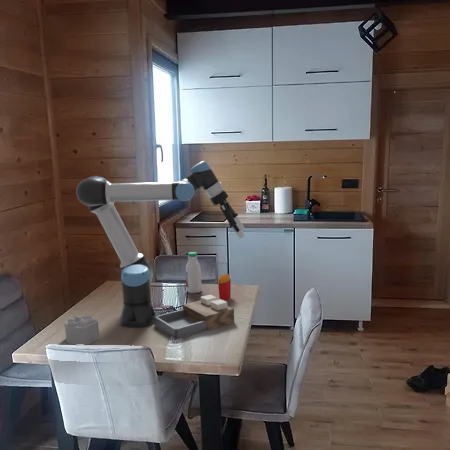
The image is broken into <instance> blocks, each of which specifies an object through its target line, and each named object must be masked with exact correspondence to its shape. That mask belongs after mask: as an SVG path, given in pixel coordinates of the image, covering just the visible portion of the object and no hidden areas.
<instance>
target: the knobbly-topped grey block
mask: <svg viewBox="0 0 450 450" xmlns="http://www.w3.org/2000/svg"><path fill="white" fill-rule="evenodd" d="M64 330H65V341H66V342H67V343H68V344H69V343H70V345H73V344H84V345H85V346H89V345H91V344H92V343H94V342H96V341H98V340H99V339H100V330H99V320H98V319H96V318H93V317H92V316H90V315H88V314H86V315H84V316H80V315H75V316H74V317H70V318H69V319H66V320H65V322H64Z"/></svg>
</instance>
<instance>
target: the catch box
mask: <svg viewBox="0 0 450 450" xmlns="http://www.w3.org/2000/svg"><path fill="white" fill-rule="evenodd" d="M153 324H154V327H156V328H157V329H159V330H160V331H161V332H163V331H164V332H163V333H165V334H166V333H167V335H168V336H170V337H171V338H173V339H174V338H175V339H174V340H179V339H181V338H186V337H188V336H192V334H193V335H195V334H199V333H203V332H206V331H207V330H206V321H205V320H204V321H201V322H197V323H196V322H194V321H192V320H190V319H189V318H187V317H185V313H184V309H183V308H182V309H178V310H174V311H170V312H168V313H167V312H166V313H163V314H158V315H156V316H154V323H153ZM185 336H186V337H185Z"/></svg>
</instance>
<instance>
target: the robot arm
mask: <svg viewBox="0 0 450 450" xmlns="http://www.w3.org/2000/svg"><path fill="white" fill-rule="evenodd" d="M190 170H191V173H190V174H189V175H188V176H185V177H184V178H182V179H181V180H179V181H165V182H164V181H163V182H162V181H160V182H158V181H157V182H126V183H125V182H124V183H123V182H121V183H115V182H114V183H111V182H110V181H108V180H107V179H106V178H104V177H102V176H99V175H92V176H89V177H87V178H85V179H83V180H81V181H79V183H78V184H77V186H76V193H75V194H76V197H77V199H78V201H79V202H80V203H81V204H83V205H84V206H86V207H87V208H88V210H89V211H90V213H93V214H95V215H96V217H97V218H98V221H99V222H100V224H101V227H102V228H103V229H104V231H105V234H106V235H107V237H108V239H109V242H110V243H111V245H112V247H113V248H114V249H113V250H115V252H116V254H117V257H118V258H119V261H120V265H119V267H120V269H121V273H120V274H121V276H120V280H121V287H122V288H121V289H122V290H121V291H122V300H123V301H122V303H123V305H122V310H121V314H120V316H119V319H120V320H119V323H120V325H121V326H123V327H126V328H132V329H133V328H143V327H148V326H151V325H152V324H154V316H157V313H156V311H155V309H154V306H153V304H152V295H151V284H152V281H153V279H154V278H153V277H154V267H153V265H152V264H151V263H150V262H149V261H148V260H147V259H146V256H145V255H144V254H143V253H140V252H139V250H138V248H137V246H136V245H135V243H134V241H133V239H132V237H131V235H130V233H129V231H128V230H127V228H126V226H125V223H124V222H123V219H122V218H121V215H120V214H119V212H118V211H117V209H116V207H115V206H116V205H115V203H122V202H124V203H125V202H154V201H156V202H157V201H182V202H186V201H187V202H188V201H190V200H191V199H192V198H193V197H194V195H195V192H197V191H199V190H200V189H201V188H202V189H203V192H204V193H205V194H206V196H207V197H208V198H210V201H211V203H212V204H213V205H214V206H217V205H219V209H220V210H221V212H222V213H223V216H224V217H225V219H226V221H227V222H228V224H229V228H232V229H233V231H234V233H235V234H236V236H237V237H238V239H239V240H240V239H242V238H244V237H245V236H246V235H245V233H244V232H243V230H245V226H244V224H243V223H242V222H241V219H240V218H239V217H238V216H239V214H238V213H236V211H235V210H234V209H233V207H232V206H231V205H230V203H229V201H228V200H227V199H228V198H229V194H228V193H227V192H226V190H225V189H224V187H223V185H222V184H223V183H222V181H221V182H220V181H219V179H218V178H217V176H216V175H215V173H214V171H213V170H212V168H211V166H209V164H208V163H207V161H205V160H202V161H199V162H198V163H196V164H195V165H194V166H192V167H191V169H190Z"/></svg>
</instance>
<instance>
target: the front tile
mask: <svg viewBox="0 0 450 450" xmlns="http://www.w3.org/2000/svg"><path fill="white" fill-rule="evenodd" d="M227 306H228V302H227V300H226V301H224V300H221V299H217V300H215V301H211V308H213V309H215V310H221V309H225V308H227Z"/></svg>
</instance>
